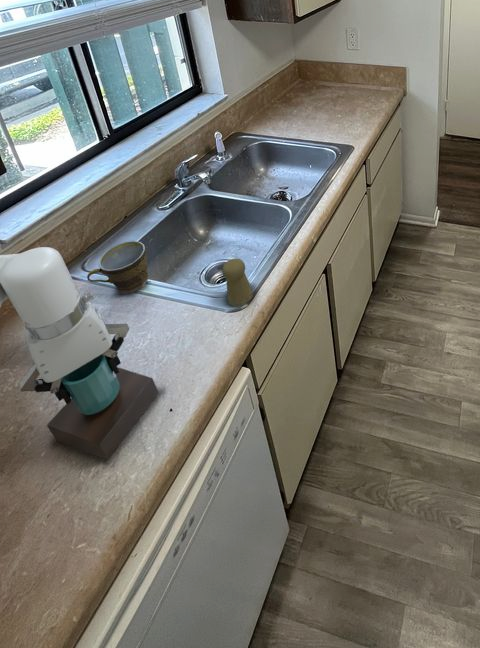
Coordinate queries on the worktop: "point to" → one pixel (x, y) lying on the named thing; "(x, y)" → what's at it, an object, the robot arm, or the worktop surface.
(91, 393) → the teal cup
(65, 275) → the robot arm
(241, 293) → the olive pepper mill
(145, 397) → the plate
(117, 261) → the ceramic cup
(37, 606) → the worktop surface
